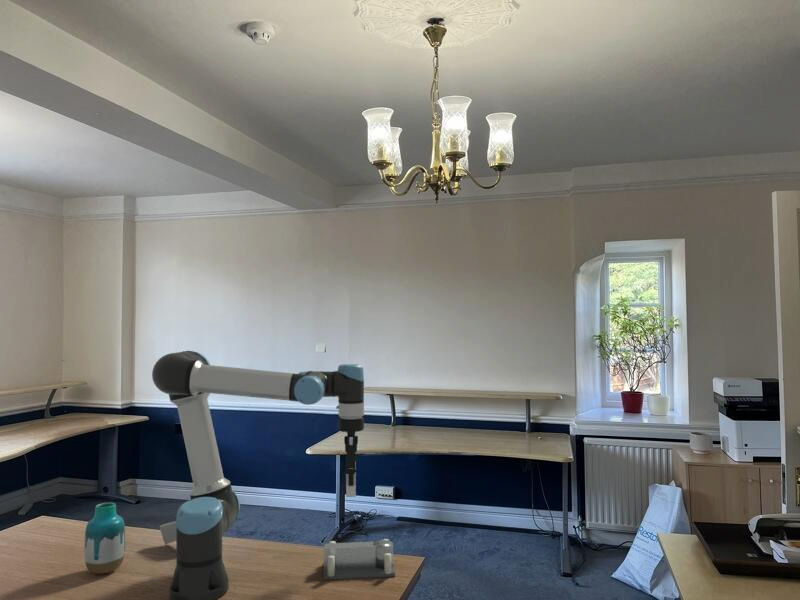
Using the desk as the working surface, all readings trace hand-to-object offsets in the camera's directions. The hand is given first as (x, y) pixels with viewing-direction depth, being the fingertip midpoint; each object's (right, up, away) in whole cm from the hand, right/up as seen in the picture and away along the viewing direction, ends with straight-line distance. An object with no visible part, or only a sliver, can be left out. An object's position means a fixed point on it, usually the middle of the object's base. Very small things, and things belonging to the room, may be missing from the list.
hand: (351, 489), depth 170 cm
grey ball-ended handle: (+2, -22, -1) cm, 22 cm away
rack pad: (+2, -23, -1) cm, 23 cm away
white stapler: (-62, -22, +19) cm, 68 cm away
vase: (-72, -24, -1) cm, 76 cm away
